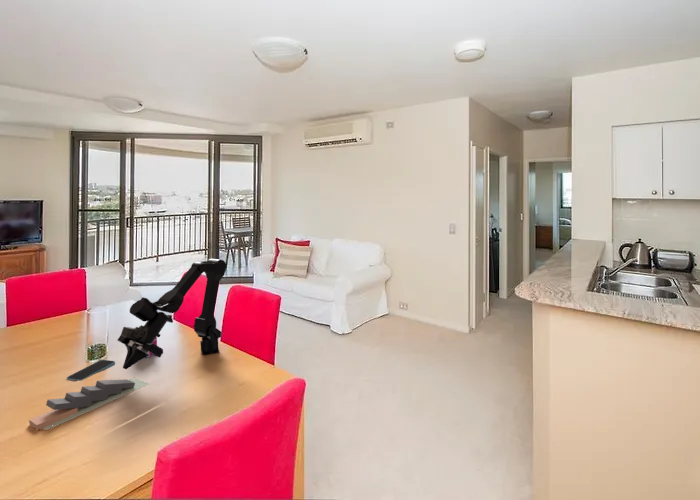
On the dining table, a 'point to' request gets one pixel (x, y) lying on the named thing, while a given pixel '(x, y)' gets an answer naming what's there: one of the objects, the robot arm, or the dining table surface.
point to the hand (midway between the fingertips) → (124, 368)
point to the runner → (101, 402)
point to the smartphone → (91, 370)
